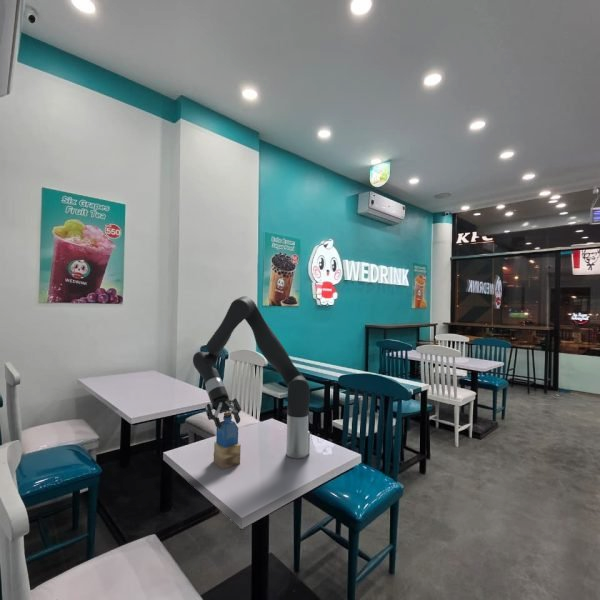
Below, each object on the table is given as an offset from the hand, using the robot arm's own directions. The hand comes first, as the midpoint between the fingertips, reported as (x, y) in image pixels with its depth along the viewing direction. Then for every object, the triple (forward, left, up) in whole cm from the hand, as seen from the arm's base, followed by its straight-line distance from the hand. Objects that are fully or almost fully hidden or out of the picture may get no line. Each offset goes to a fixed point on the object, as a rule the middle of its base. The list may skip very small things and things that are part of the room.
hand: (229, 424), depth 136 cm
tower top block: (0, -1, -12) cm, 12 cm away
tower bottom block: (0, -1, -16) cm, 16 cm away
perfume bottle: (0, -1, -8) cm, 8 cm away
